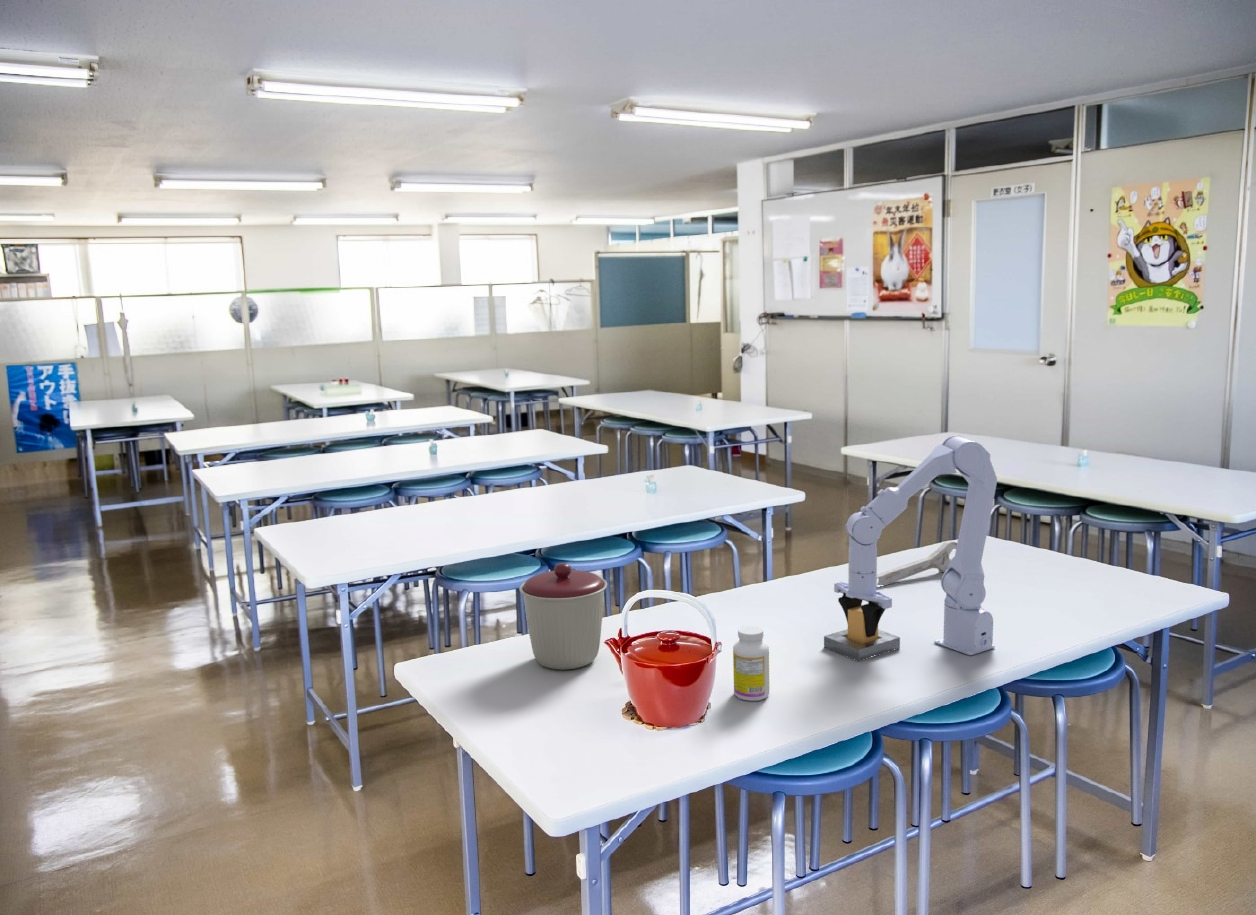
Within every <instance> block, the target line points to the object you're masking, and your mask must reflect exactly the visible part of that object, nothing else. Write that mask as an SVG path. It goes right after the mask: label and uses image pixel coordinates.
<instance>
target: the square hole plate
mask: <svg viewBox="0 0 1256 915" xmlns="http://www.w3.org/2000/svg"><path fill="white" fill-rule="evenodd" d="M825 647H826V648H825ZM823 648H825V649H827V648H828V649H827V650H829V649H830V651H832V652H834V651H835V653H837V654H839V655H842V656H844V655H845V656H844V657H846V656H848V657H847V658H849V657H850V658H849V659H851V658H852V659H851V660H854V659H855V660H854V661H856V660H857V662H858V661H859V662H861V661H860V660H862V661H864V660H863V659H865V660H867V659H866V658H868V659H870V658H869V657H871V656H874V655H878V656H880V655H879V654H881V655H884V654H883V653H885V652H888V651H891V652H893V651H892V650H894V649H897V650H899V649H898V648H900V649H901V637H900V636H898V635H895V634H891V633H889V632H886V631H883V630H880V629H878V639H877V640H873V641H870V642H867V643H863V644H861V643H859V642H856V641H853V640H851V639H848V628H847V629H844V630H841V631H837V632H834V633H830V634H827V635H824V636H823ZM894 651H895V650H894ZM888 653H889V652H888ZM885 654H886V653H885Z"/></svg>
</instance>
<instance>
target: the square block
mask: <svg viewBox="0 0 1256 915" xmlns="http://www.w3.org/2000/svg"><path fill="white" fill-rule="evenodd" d="M847 629H848V639H851V640H853V641H856V642H859V643H861V644H863V643H867V642H870V641H873V640H877V639H878V630H879V625H878V626H877V630H876V633H875V636H871V637H866V632H865V621H864V615H863V612H862V609H861V606H859V607H855V608H851V609H848V623H847Z"/></svg>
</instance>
